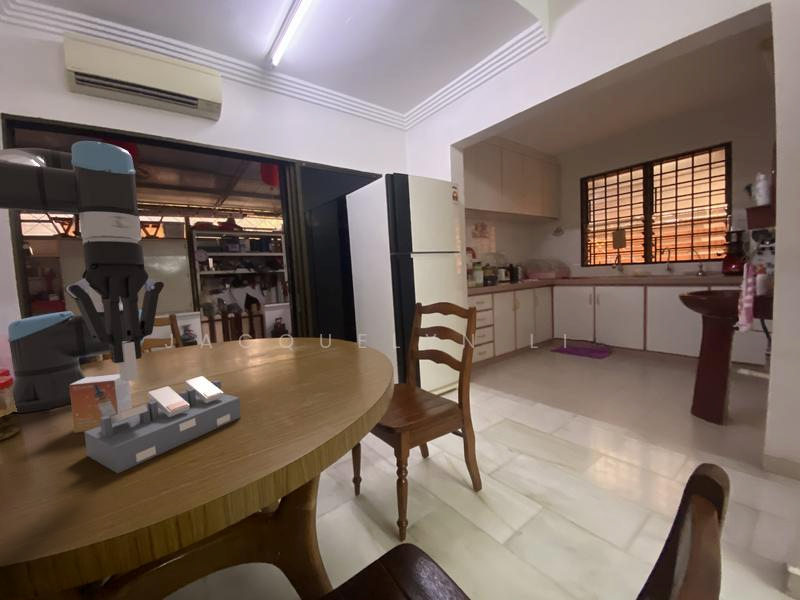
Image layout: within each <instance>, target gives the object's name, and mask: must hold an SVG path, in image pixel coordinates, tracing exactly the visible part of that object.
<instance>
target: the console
mask: <svg viewBox="0 0 800 600" xmlns="http://www.w3.org/2000/svg"><path fill="white" fill-rule="evenodd" d="M211 383H212V384H213V385H215V386H216V387H217V388H218V389H220V390H221V391H222V382H221V380H212V382H211ZM178 395H179V396H180V397H181V398H183V399H184V400H185V401H186V402H187V403H188V404H190V407H189V410H187V411H184V412H182V413H179V414H176V415H174V416H171V417H168V416H167V415H166V414H165V413H164V412H163V411H162V410H161V409H160V408H159V407H158V405H157V402H156V401H151V400H149V401H147V402H146V403H145V402H144V403H141V404H139V405H137V406H140V405H146V406H147V409H148V411H146V412H144V413H141V414H138V415H136V416H133V417H130V418H128V419H125V420H122V421H119V422H116V423H113V424H112V420H111V417H110V416H104V417H101V418H100V425H101V426H100V427H97V428H94V429H91V430H88V431H84V432H83V433H84V440H85V447H86V456H87V457H89V458H90V459H92V460H94V461H96V462H97V463H99V464H100V465H102V466H105V467H106V468H107V469H109V470H111V471H113V472H114V473H116V474H119V473H122V472H124V471H127V470H129V469H131V468H133V467H135V466H137V465H140V464H142V463H144V462H146V461H148V460H151V459H153V458H155V457H157V456H159V455H162V454H164V453H166V452H167V451H168V452H169V451H170V450H172V449H175V448H176V447H179V446H181V445H184V444H185V443H187V442H191V441H192V440H195V439H197V438H198V437H201V436H203V435H205V434H208V433H209V432H211V431H214V430H216V429H218V428H221V427H222V426H225V425H228V424H230V423H231V422H234V421H237V420H238V419H239V418H242V416H241V415H242V412H241V403H240V402H241V401H240V397H238V396H233V395H229V394H225V393H223V397H222V398H219V399H216V400H214V401H211V402H208V403H205V402H204V401H203V400H202V399H200V398H199V397H198V396H197V395H196V394H195V389H188V388H187V389H185V390H182V391H179V392H178Z"/></svg>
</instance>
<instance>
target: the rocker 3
mask: <svg viewBox="0 0 800 600" xmlns="http://www.w3.org/2000/svg"><path fill="white" fill-rule="evenodd" d="M184 386H185V387H186V388H187V390H188V389H195V394H196V395H197V396H198V397H199V398H200V399H202V400H203V401H204V402H205V403H208V402H211V401H214V400H216V399H219V398H222V397H223V394H224V392H223V390H222V389H221V390H220V389H218V388H217V387H216V386H215V385H213V384H212V382H211V381H209V380H208V379H207V378H206V377H204V376H203V375H201V376H198V377H194V378H191V379H188V380H185V382H184Z"/></svg>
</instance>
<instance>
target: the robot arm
mask: <svg viewBox="0 0 800 600" xmlns="http://www.w3.org/2000/svg"><path fill="white" fill-rule="evenodd" d="M137 195H138V194H137V186H136V170H135V166H134V162H133V157H132V155H131V153H129V151H128V150H126V149H124V148H122V147H120V146H117V145H115V144H110V143H107V142H101V141H94V140H93V141H92V140H81V141H80V140H79V141H77V142H74V143H73V144H72V145H71V152H68V151H67V152H65V151H60V150H54V149H53V150H52V149H50V148H49V149H47V148H41V147H23V148H22V147H17V148H16V147H15V148H4V149H3V148H2V149H0V209H2V210H5V209H6V210H16V211H19V210H20V211H32V212H44V213H57V214H73V215H78V218H79V227H80V236H81V239H82V252H83V259H84V266H85V269H84V272H83V273H82V279H80V280H78V281H77V282H75V283H73V284H69V285H66V286H64V288H63V290H64V292H65V293H67V294H68V295H69V296H70V297H71V298H72V299H73V300H74V301H75V303H76V305H77V308H78V310H79V312H80V314H81V315H75V314H74V313H73V311H70V310H68V311H65V310H64V311H60V312H53V313H47V314H41V315H35V316H29V317H24V318H21V319H17V320H14V321H12V322H11V323H9V325H8V327H7V329H8V330H7V333H8V334H7V335H8V339H7V342H8V343H9V347H10V349H9V350H10V354H11V355H10V356H11V362H12V369H13V375H14V376H13V377H14V380H13V383H12V387H11V389H12V393H13V397H14V400H15V405H16V408H17V411H18V413H17V414H24V413H32V412H39V411H45V410H49V409H54V408H57V407H61V406H66V405H68V404H69V405H70V404H71V396H70V384H72V383H75V382H77V381H79V380H81V379H83V378H86V377H87V376H86V375H85V374H84V372H83V370H82V369H81V367H80V358H87V357H94V356H101V355H105V354H110V360H111V363H113V364H118V371H119V374H120V380H123V381H127V382H128V381H129V382H132V381H136V380H139V373H138V364H137V360H139V359H142V356H143V355H142V345H143V343H144V341H145V337H147V336H152V334H153V330H154V325H155V319H156V314H157V313H156V312H157V307H158V302H159V301H158V300H159V295H160V293H161V292H162V290H163V288H164V287H165V284H164V282H163V281H156V280H154V279H152V278H151V277H149V273H148V272H147V270H146V269H145V258H144V249H143V245H141V244H140V243H139V242H140V241H141V240H142V231H141V223H140V221H141V220H140V214H139V209H138V208H139V207H138V206H139V205H138V196H137ZM143 286H144V290H145V291H144V296H143V301H142V307H141V309H139V307H138V305H139V304H138V301H139V292H140V291H141V289H142V288H143Z"/></svg>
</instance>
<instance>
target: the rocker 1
mask: <svg viewBox="0 0 800 600" xmlns="http://www.w3.org/2000/svg"><path fill="white" fill-rule="evenodd" d="M139 405H140V406H138V405H137V406H135V407H132V408H131V409H128V410H125V411H122V412H119V414H116V415H114V416H112V417H111V420H112V424H113V423H116V422H119V421H122V420H125V419H128V418H130V417H133V416H136V415H138V414H141V413H144V412H146V411H148V409H147V406H146V405H141V404H139Z"/></svg>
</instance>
